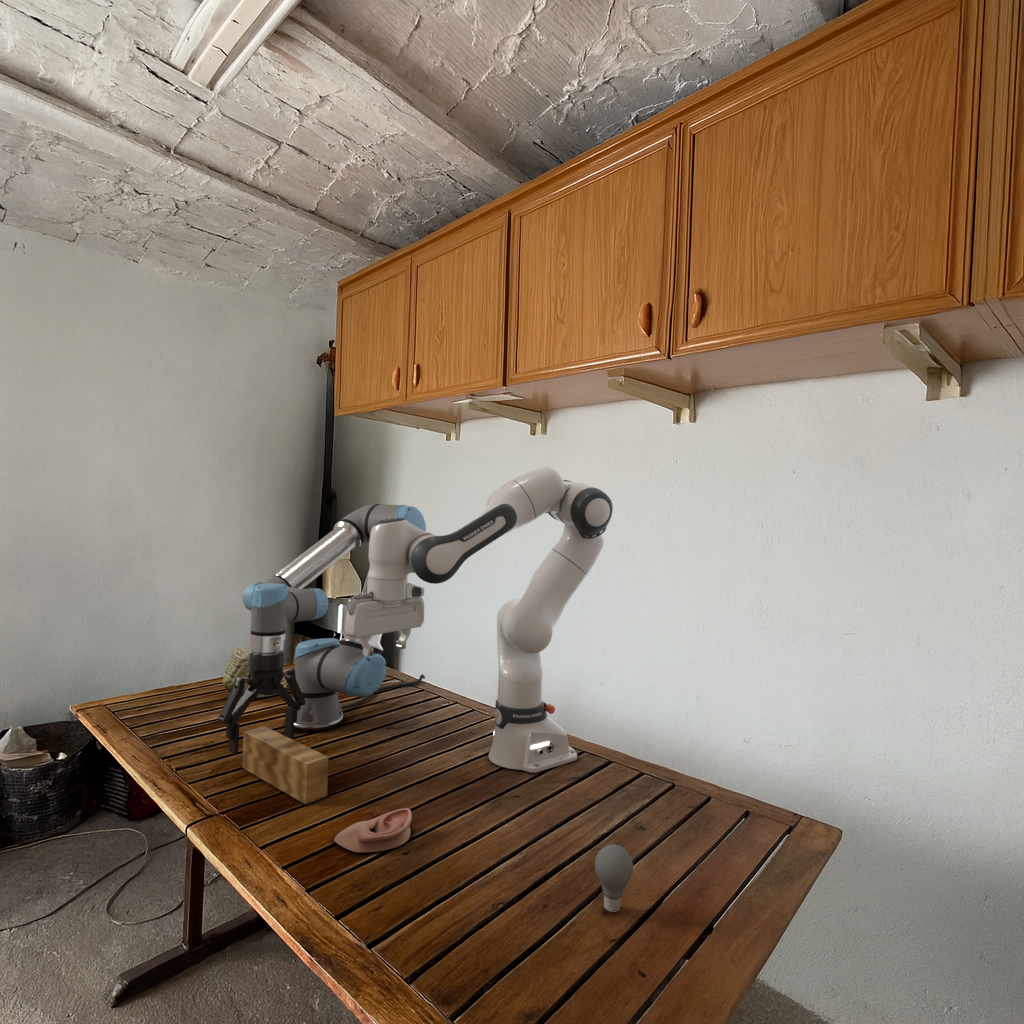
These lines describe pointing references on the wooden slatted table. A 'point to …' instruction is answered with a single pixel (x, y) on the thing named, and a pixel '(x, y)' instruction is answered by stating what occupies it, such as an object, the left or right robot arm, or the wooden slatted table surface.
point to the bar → (286, 764)
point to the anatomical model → (377, 832)
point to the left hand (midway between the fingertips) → (262, 744)
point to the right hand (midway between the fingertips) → (384, 652)
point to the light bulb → (613, 874)
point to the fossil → (241, 670)
